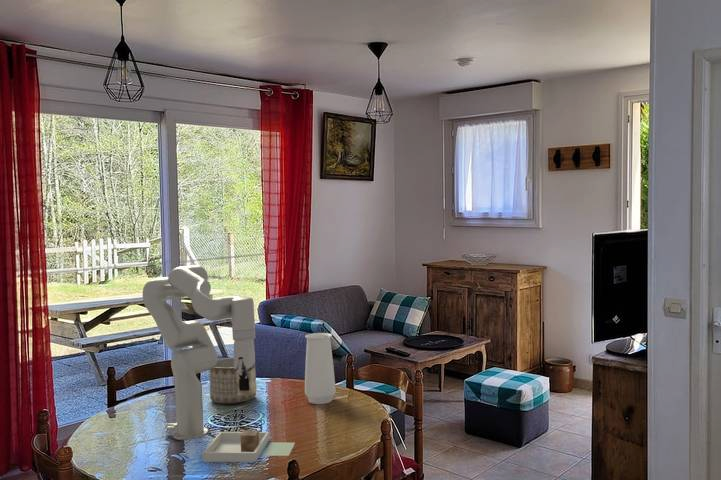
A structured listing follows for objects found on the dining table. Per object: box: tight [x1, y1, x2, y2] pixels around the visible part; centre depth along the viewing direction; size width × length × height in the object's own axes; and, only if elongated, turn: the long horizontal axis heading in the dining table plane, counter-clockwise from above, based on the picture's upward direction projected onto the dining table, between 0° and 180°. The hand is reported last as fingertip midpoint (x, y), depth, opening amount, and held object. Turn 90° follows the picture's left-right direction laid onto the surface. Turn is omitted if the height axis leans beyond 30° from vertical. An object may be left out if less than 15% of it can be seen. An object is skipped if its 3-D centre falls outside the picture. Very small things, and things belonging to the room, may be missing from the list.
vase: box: [304, 332, 336, 405], centre depth 277 cm, size 13×13×28 cm
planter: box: [208, 357, 257, 405], centre depth 281 cm, size 19×19×16 cm
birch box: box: [236, 366, 257, 395], centre depth 220 cm, size 5×5×8 cm
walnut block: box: [240, 429, 260, 452], centre depth 220 cm, size 5×5×6 cm
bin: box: [201, 431, 270, 463], centre depth 221 cm, size 18×20×4 cm
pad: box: [261, 441, 296, 457], centre depth 221 cm, size 9×12×1 cm
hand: (246, 387), depth 220 cm, fingers closed on birch box, 5 cm apart
